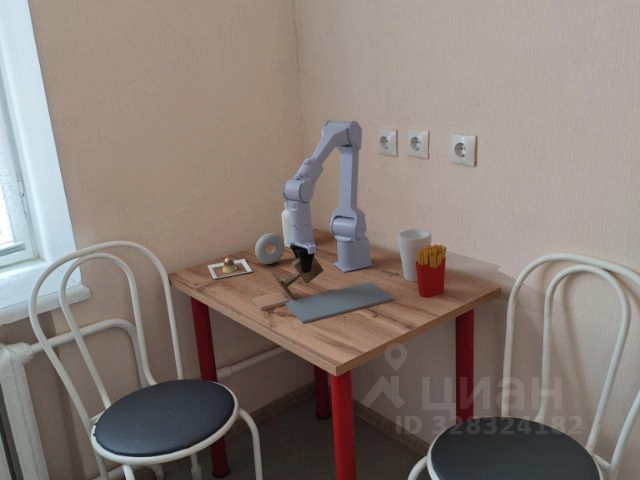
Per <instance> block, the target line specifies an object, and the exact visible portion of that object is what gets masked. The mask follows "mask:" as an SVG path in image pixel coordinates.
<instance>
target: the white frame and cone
mask: <svg viewBox="0 0 640 480" xmlns="http://www.w3.org/2000/svg"><path fill="white" fill-rule="evenodd" d="M236 264H242V266H243V267H244V269H245V270H246V271H245V272H244V271H243V272H240V273H239V272H238V273H234V272H236V271H237V270H238V268H237V266H236ZM218 267H222V272H223V273H227V274H228V273H229V274H228V275H223V276H217V274H216V273H215V270H214V268H218ZM207 268H208V269H209V271H210V274H211V276H212V278H213V279H216V280H218V279H222V278H228V277H229V278H230V277H233V276H239V275H243V274H249V273H252V272H253V269H252V268H251V266H250V265H249V263H248V262H247V260H246V259H245V258H241V259H235V260H233V259H231V258H229V257H226V258H225V259H224V261H223V262H219V263H214V264H209V265H207ZM230 273H234V274H230Z"/></svg>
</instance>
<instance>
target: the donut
mask: <svg viewBox="0 0 640 480" xmlns="http://www.w3.org/2000/svg"><path fill="white" fill-rule="evenodd" d="M268 245H273V249H272V251H271V252H270V253H268V252H267V247H268ZM254 249H255V250H254V253H255V257H256V258H257V259H258V261H259V262H260V263H263V264H266V265H273V264H274V263H277V262H278V261H279V260H280V259H281V258H282V256H283V255H284V252H285V244H284V239H283V238H282V237H281V236H280V235H279V234H277V233H274V232H270V233H265V234H263V235H262V236H261V237H259V239H258V240H257V241H256V243H255V247H254Z"/></svg>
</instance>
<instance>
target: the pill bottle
mask: <svg viewBox="0 0 640 480" xmlns="http://www.w3.org/2000/svg"><path fill="white" fill-rule="evenodd" d="M283 205H284V206H283V207H284V210H283V211H282V212H281V223H282V233H283V242H284V247H285V248H289V249H291V248H290V245H289V244H288V241H289V240H291V239H290V232H291V226H290V216H289V207H287V205H286V201H285V202H284V203H283Z"/></svg>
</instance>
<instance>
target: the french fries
mask: <svg viewBox="0 0 640 480" xmlns="http://www.w3.org/2000/svg"><path fill="white" fill-rule="evenodd" d="M446 253H447V247H446V246H445V245H442V244H440V245H438V244H434V245H431V244H430V245H429V247H428V246H426V249H425V248H422V249H420V250H419V252H418V253H417V258H418V261H417V262H416V272H417V280H418V281H417V287H418V288H417V289H418V296H419V297H422V298H429V299H430V298H434V297H436V296H439V295H442V294H443V293H444V291H445V290H444V289H445V288H444V287H445V274H446V262H447V261H446V260H447V256H446Z"/></svg>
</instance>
